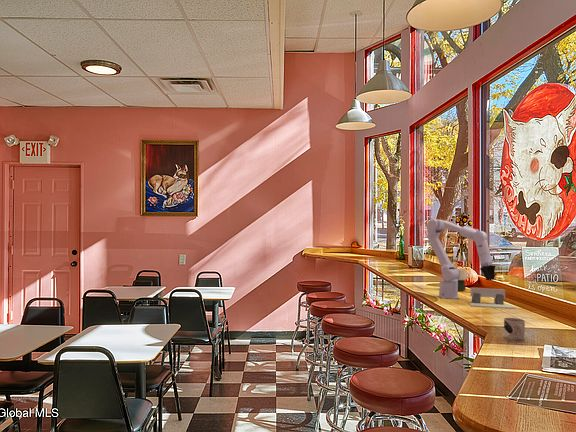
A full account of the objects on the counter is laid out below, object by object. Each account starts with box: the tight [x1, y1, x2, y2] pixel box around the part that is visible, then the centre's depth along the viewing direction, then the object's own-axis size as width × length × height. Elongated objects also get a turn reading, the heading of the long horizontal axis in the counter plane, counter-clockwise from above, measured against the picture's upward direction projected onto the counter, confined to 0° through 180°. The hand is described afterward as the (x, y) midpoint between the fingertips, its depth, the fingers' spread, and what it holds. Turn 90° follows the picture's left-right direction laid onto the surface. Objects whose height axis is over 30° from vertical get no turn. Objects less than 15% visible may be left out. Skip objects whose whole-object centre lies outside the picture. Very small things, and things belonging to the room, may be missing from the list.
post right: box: [493, 295, 505, 305], centre depth 237 cm, size 3×6×5 cm, turn 169°
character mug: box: [456, 268, 471, 291], centre depth 282 cm, size 11×7×13 cm, turn 80°
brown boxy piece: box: [471, 294, 482, 303], centre depth 239 cm, size 3×6×5 cm, turn 169°
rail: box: [469, 287, 506, 299], centre depth 238 cm, size 16×3×4 cm, turn 79°
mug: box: [503, 317, 526, 342], centre depth 165 cm, size 10×7×7 cm
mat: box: [468, 302, 516, 310], centre depth 230 cm, size 20×7×1 cm, turn 79°
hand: (490, 280), depth 239 cm, fingers open, 7 cm apart
